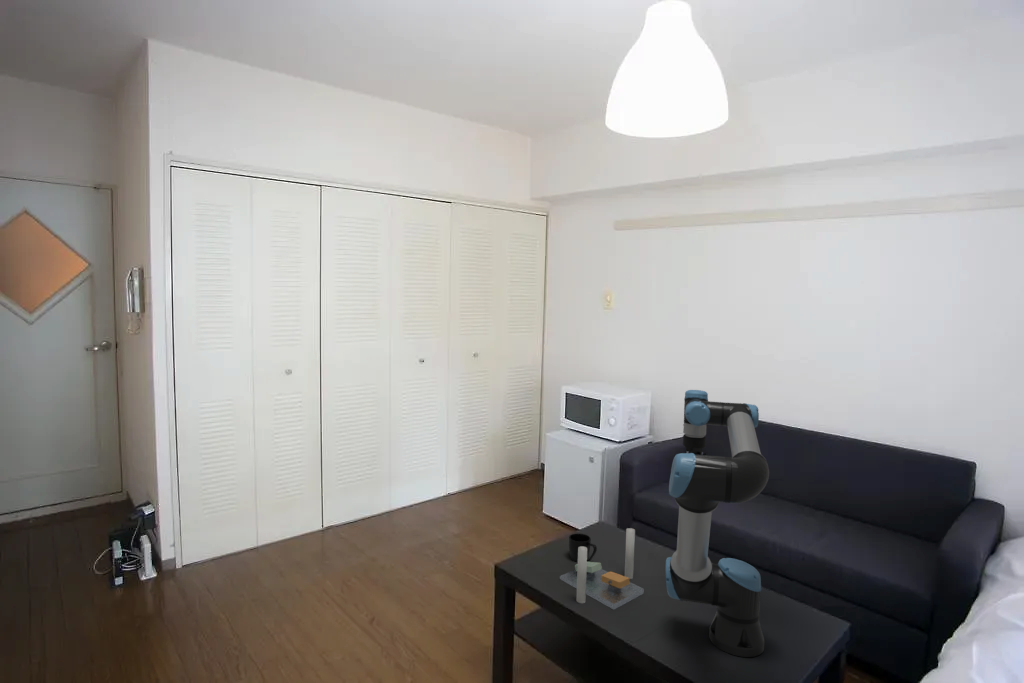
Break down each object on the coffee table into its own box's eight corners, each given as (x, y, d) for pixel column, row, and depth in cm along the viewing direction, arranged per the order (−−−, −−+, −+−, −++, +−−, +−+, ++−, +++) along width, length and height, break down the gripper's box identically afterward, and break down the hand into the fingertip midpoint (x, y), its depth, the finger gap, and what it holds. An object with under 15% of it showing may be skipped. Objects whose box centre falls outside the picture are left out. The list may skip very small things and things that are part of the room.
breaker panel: (643, 594, 192) (643, 584, 192) (613, 609, 181) (614, 598, 181) (589, 568, 210) (590, 559, 210) (559, 581, 199) (560, 571, 199)
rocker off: (630, 583, 190) (630, 577, 190) (619, 589, 186) (618, 582, 186) (611, 576, 196) (611, 570, 196) (600, 581, 192) (600, 575, 192)
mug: (587, 572, 207) (587, 547, 206) (563, 560, 216) (564, 536, 215) (601, 566, 212) (602, 541, 211) (578, 555, 221) (579, 531, 220)
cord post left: (587, 602, 186) (589, 548, 185) (581, 605, 184) (583, 550, 183) (580, 598, 188) (582, 545, 187) (574, 601, 186) (576, 547, 185)
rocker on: (602, 568, 199) (601, 562, 199) (591, 573, 195) (590, 567, 195) (586, 566, 205) (585, 560, 205) (574, 571, 201) (573, 565, 201)
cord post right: (634, 579, 202) (636, 530, 201) (629, 581, 200) (631, 532, 199) (627, 576, 205) (629, 527, 204) (622, 578, 203) (624, 529, 202)
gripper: (694, 430, 201) (691, 496, 202) (674, 435, 192) (671, 503, 194) (714, 434, 195) (711, 501, 197) (694, 439, 187) (690, 509, 188)
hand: (691, 502), depth 195 cm, fingers closed
